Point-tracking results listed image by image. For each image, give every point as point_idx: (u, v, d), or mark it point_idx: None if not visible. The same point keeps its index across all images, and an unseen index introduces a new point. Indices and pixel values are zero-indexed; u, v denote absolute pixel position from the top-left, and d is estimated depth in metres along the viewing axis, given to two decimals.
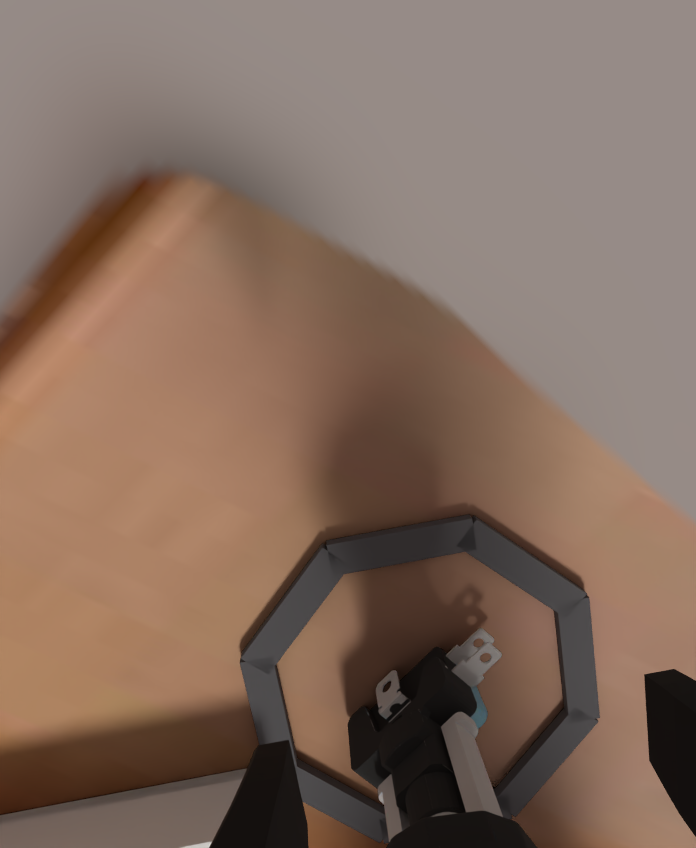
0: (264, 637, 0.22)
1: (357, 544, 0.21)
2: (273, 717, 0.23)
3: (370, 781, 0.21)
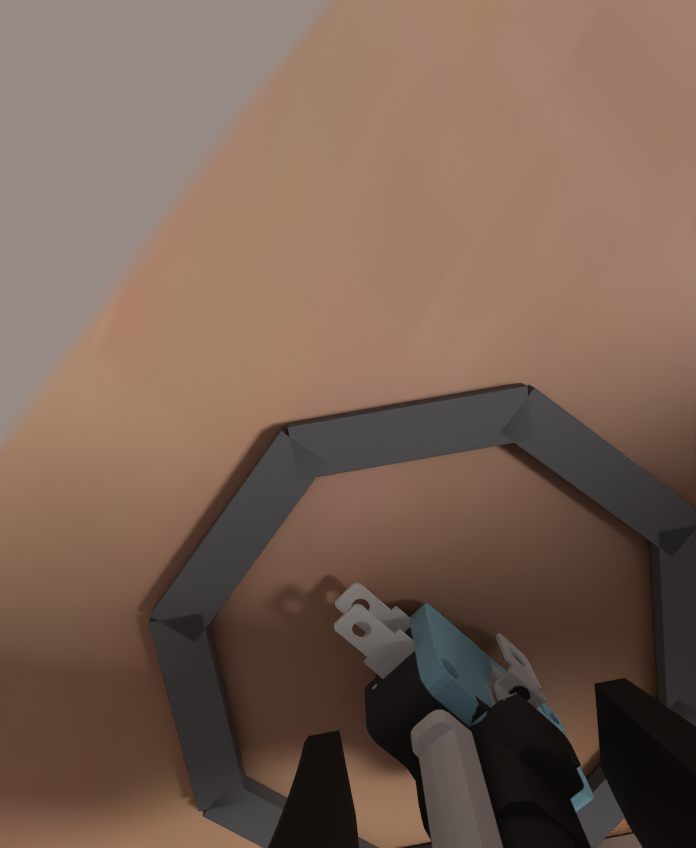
0: None
1: (195, 772, 0.15)
2: None
3: None
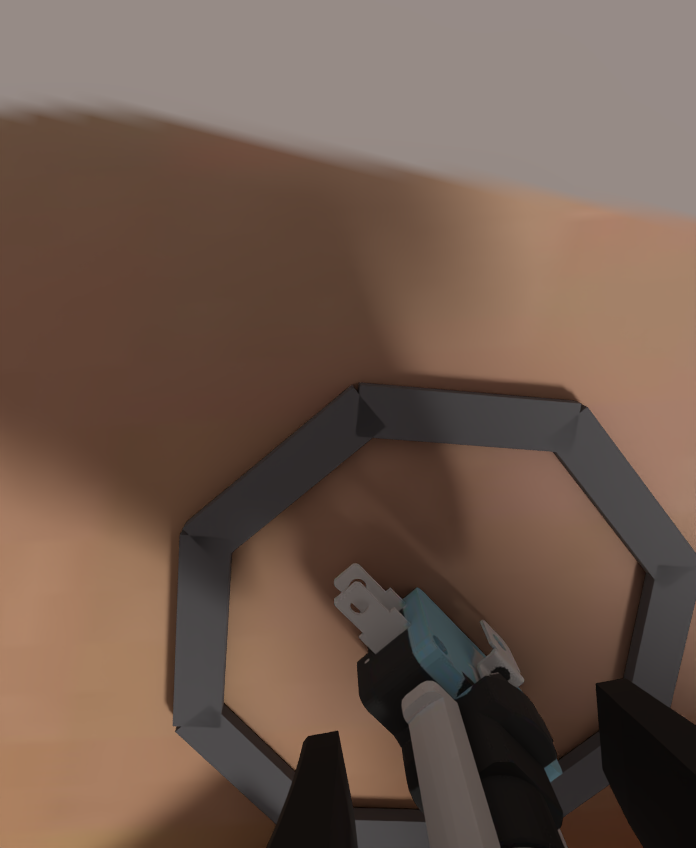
0: (184, 685, 0.15)
1: (222, 505, 0.14)
2: (262, 776, 0.16)
3: None
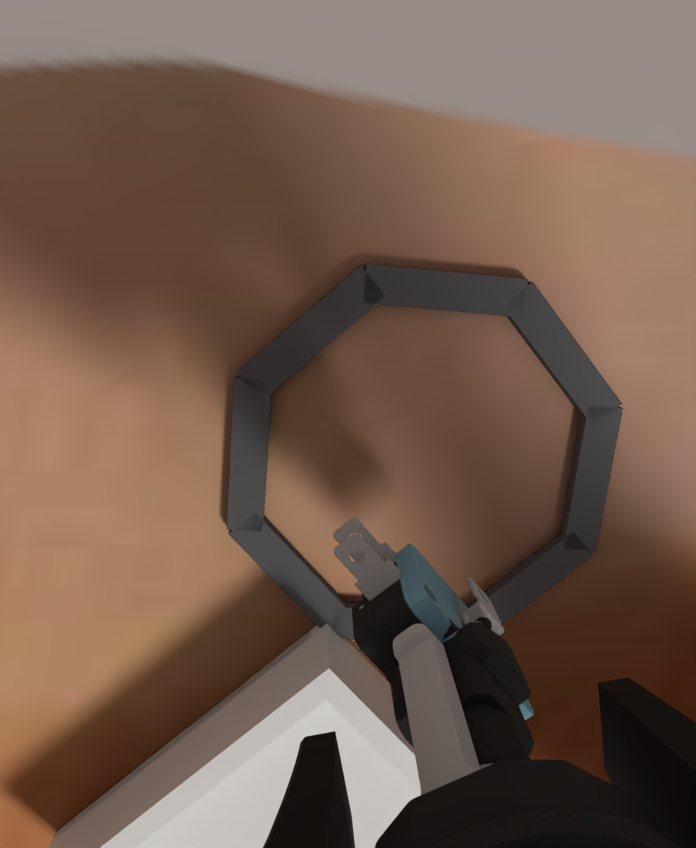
0: (235, 496, 0.20)
1: (265, 355, 0.19)
2: (293, 571, 0.21)
3: None
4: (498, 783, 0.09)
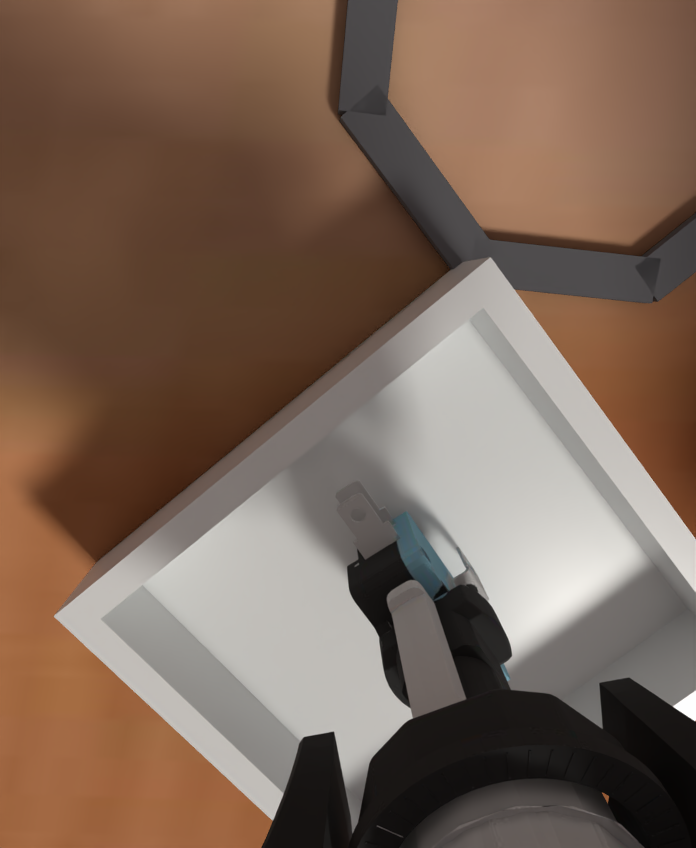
0: (353, 59, 0.15)
1: None
2: (423, 179, 0.16)
3: None
4: (491, 707, 0.10)
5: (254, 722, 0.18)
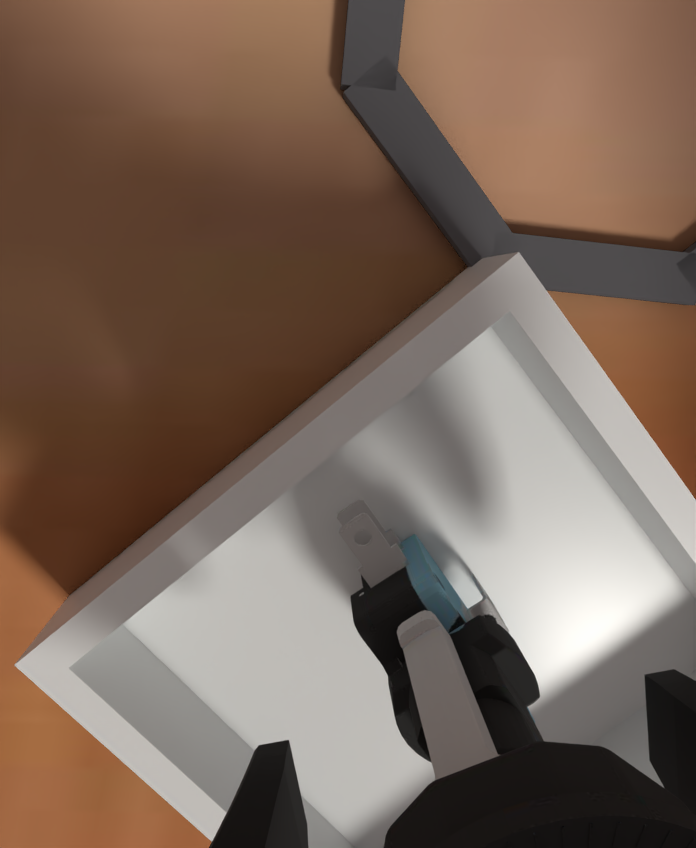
0: (358, 25, 0.13)
1: None
2: (438, 164, 0.14)
3: None
4: (534, 765, 0.08)
5: None
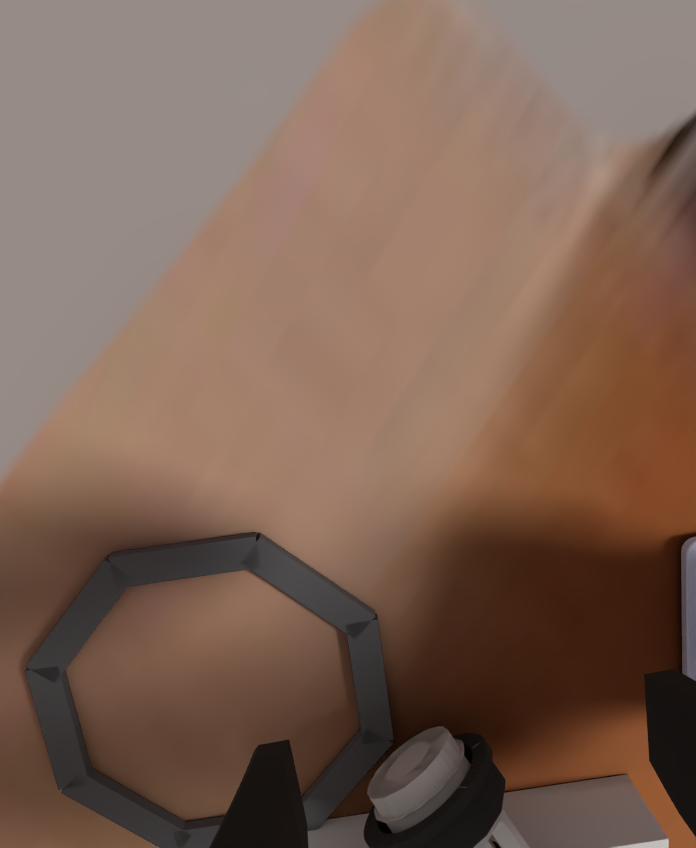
0: (153, 837, 0.24)
1: (56, 765, 0.23)
2: None
3: None
4: None
5: None
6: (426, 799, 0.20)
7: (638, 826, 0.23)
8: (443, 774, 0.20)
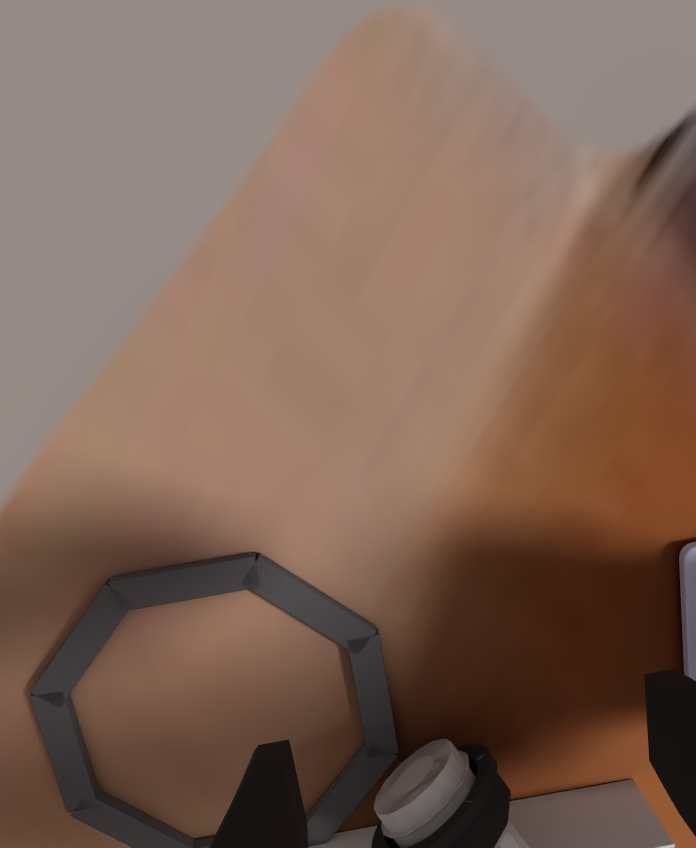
0: None
1: (64, 788, 0.23)
2: None
3: None
4: None
5: None
6: (432, 815, 0.20)
7: (644, 832, 0.23)
8: (448, 788, 0.20)
